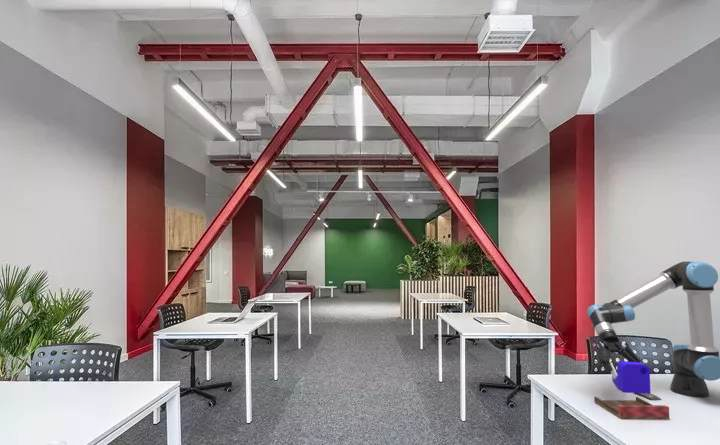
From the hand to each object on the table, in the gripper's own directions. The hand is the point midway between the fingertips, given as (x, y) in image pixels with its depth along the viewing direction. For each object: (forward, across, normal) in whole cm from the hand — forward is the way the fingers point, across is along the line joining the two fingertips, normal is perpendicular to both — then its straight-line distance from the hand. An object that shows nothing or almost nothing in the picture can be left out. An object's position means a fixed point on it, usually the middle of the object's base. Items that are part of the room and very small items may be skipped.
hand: (628, 377), depth 186 cm
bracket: (+1, 0, -5) cm, 6 cm away
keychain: (-6, -20, -27) cm, 34 cm away
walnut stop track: (+10, 0, -10) cm, 14 cm away
